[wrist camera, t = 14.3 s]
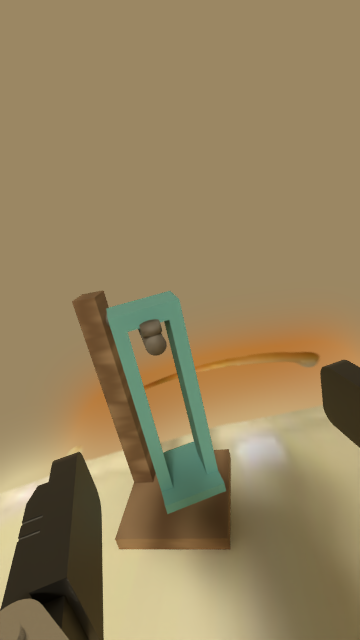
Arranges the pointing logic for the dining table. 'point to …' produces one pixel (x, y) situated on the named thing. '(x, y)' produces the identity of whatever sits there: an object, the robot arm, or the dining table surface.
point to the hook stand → (146, 497)
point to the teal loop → (196, 457)
